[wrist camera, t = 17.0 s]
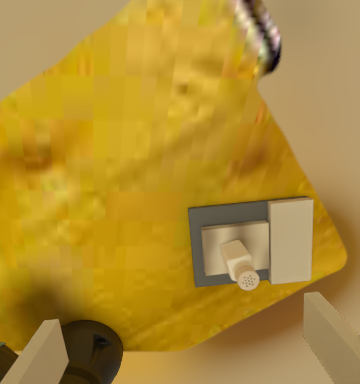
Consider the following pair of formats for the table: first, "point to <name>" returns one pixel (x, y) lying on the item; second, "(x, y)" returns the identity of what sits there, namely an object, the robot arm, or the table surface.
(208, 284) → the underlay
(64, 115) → the table surface
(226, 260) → the salt shaker
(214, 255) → the plank
